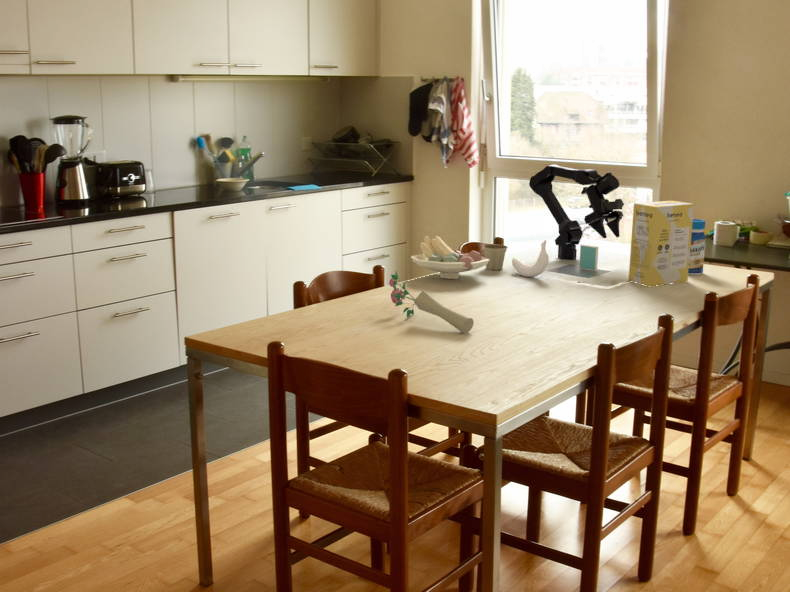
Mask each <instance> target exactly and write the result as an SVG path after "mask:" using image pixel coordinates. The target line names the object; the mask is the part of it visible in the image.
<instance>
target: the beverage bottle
mask: <svg viewBox="0 0 790 592" xmlns="http://www.w3.org/2000/svg"><path fill="white" fill-rule="evenodd" d="M705 229H706V220H704V219H700V218H693V223H692V235H691V246H690V258H689V270H688V276H700V275H701V276H702V274H704V263H705V253H706V251H705V250H706V248H707V246H706V241H707V237H706V234H705V232H704V230H705Z"/></svg>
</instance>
